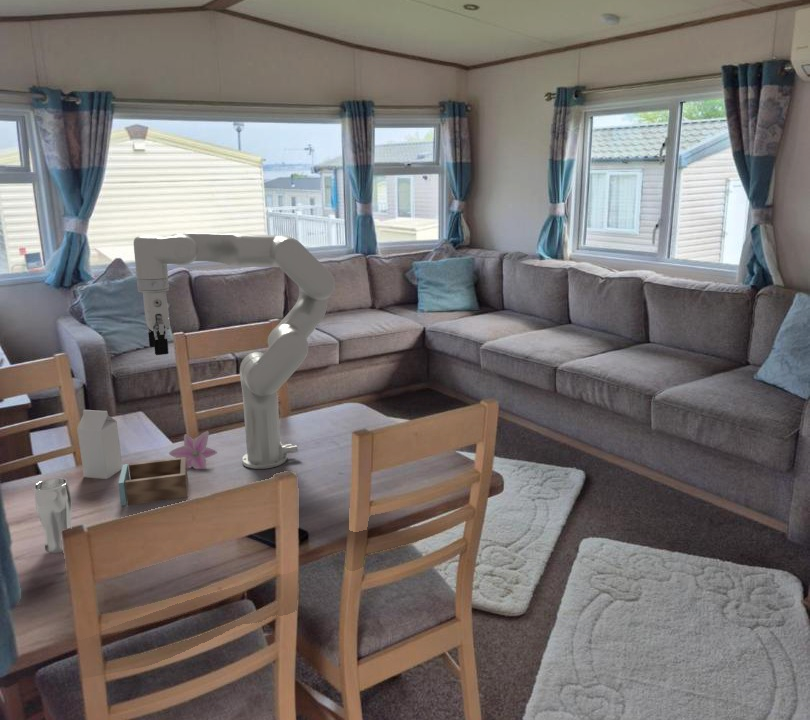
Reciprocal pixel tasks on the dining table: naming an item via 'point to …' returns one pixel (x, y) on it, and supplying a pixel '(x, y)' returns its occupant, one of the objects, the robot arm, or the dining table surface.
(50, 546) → the beer glass
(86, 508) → the dining table surface
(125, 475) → the tailgate
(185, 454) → the lily
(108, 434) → the milk carton
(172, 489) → the box
